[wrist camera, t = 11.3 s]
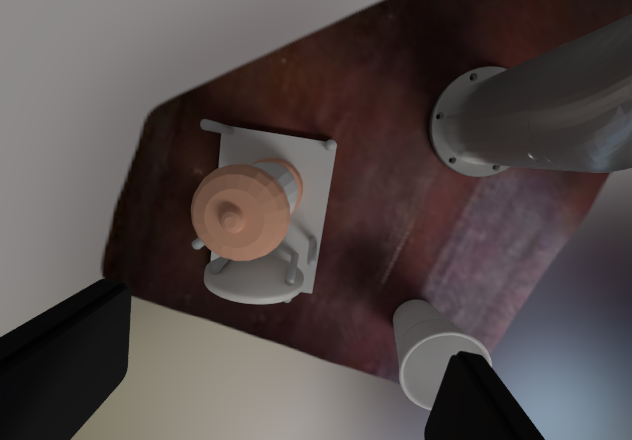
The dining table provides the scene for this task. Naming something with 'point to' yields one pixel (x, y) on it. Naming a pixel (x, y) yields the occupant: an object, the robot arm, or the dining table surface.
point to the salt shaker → (246, 207)
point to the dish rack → (305, 222)
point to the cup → (427, 349)
